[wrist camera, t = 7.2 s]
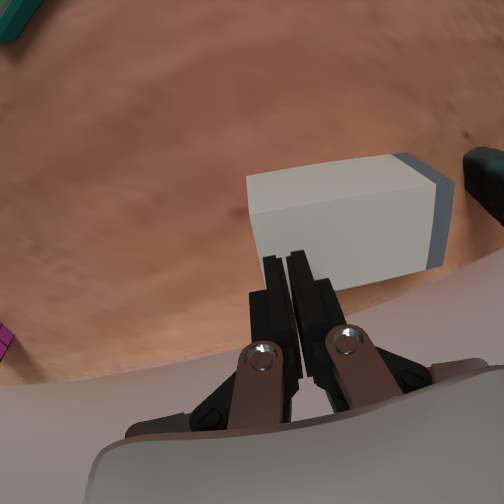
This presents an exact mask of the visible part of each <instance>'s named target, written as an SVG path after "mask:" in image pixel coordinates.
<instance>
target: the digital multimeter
mask: <svg viewBox="0 0 504 504" xmlns="http://www.w3.org/2000/svg"><path fill="white" fill-rule="evenodd" d="M42 1H43V0H0V43H12V42H14V40H15V39H16V38H17V36H18V35H19V33H20V32H21V30H22V29H23V27H24V26H25V25H26V23H27V22H28V20H29V19H30V17H31V16H32V15H33V13H34V12H35V10H36V9H37V8H38V6H39V5H40V4H41V2H42Z"/></svg>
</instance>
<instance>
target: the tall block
mask: <svg viewBox="0 0 504 504" xmlns="http://www.w3.org/2000/svg"><path fill="white" fill-rule="evenodd" d="M246 181H247V193H248V205H249V216H250V220H251V225H252V229H253V234H254V238H255V243H256V247H257V252H258V257H259V261H260V266H261V270H262V275H263V279H264V284H265V288H266V282H265V274H264V267H263V259H262V257H266V256H271V255H276V258H280V257H282V261H283V266H284V270H285V275H286V279H287V284H288V288H289V293H290V298H291V300H292V296H291V289H290V282H289V275H288V269H287V262H286V256H291V255H290V252H293V251H298V250H304V251H305V254H306V257H307V260H308V263H309V266H310V269H311V272H312V275H313V278H314V280H319V279H324V278H329V279H330V281H331V284H332V286H333V289H334V291H337V290H342V289H346V288H351V287H356V286H360V285H365V284H369V283H374V282H378V281H382V280H386V279H391V278H395V277H399V276H403V275H407V274H411V273H415V272H419V271H423V270H427V269H431V268H435V267H438V266H442V264H443V260H444V255H445V249H446V244H447V238H448V232H449V225H450V219H451V211H452V203H453V194H454V183H455V182H454V181H452V180H451V179H449V178H448V177H446V176H445V175H443V174H441V173H440V172H438V171H437V170H435V169H434V168H432V167H430V166H429V165H427V164H425V163H424V162H422V161H420V160H419V159H417V158H415V157H414V156H412V155H410V154H408V153H401V154H391V155H381V156H372V157H364V158H356V159H348V160H341V161H334V162H327V163H320V164H314V165H307V166H301V167H295V168H289V169H284V170H278V171H272V172H267V173H262V174H256V175H251V176H246Z"/></svg>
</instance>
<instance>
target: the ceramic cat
mask: <svg viewBox="0 0 504 504" xmlns="http://www.w3.org/2000/svg"><path fill="white" fill-rule="evenodd" d="M463 163H464V172H465V177H466V178H465V189H466V190H467V191H468V192H469V193H470V195H471V196H472V197H473V198H475V199H476V200H477V201H478V202H479V203H480V204H481V205H482V206H483V208H484V209H485V210H486V211H487V212H489V213H490V214H491V215H492V216H493V217H494V218H495V219H496V220H498V221H499V222H500V224H501V225H502V226H503V227H504V152H503V151H500V150H498V149H492V148H488V147H478V148H475V149H473V150H471V151H469V152H468V153H467V154H466V155H465V156H464V159H463Z"/></svg>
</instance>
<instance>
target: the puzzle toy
mask: <svg viewBox="0 0 504 504" xmlns="http://www.w3.org/2000/svg"><path fill="white" fill-rule="evenodd" d="M14 336H15V335H14V334H13V333H11V332H10V331H9V330H8V329H7V328H6V327H5V326H4V325H2V323H1V322H0V362H1V360H2V358H3V356H4V354H5V352H6V351H7V349H8V347H9V345H10V343H11V341H12V340H13V338H14Z"/></svg>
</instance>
